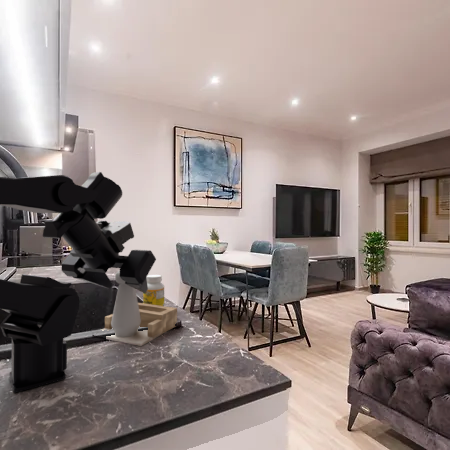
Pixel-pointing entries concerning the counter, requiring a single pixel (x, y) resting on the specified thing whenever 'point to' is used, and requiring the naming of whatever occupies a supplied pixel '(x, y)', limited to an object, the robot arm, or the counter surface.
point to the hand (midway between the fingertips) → (128, 288)
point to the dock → (147, 324)
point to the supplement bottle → (154, 291)
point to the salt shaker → (125, 310)
